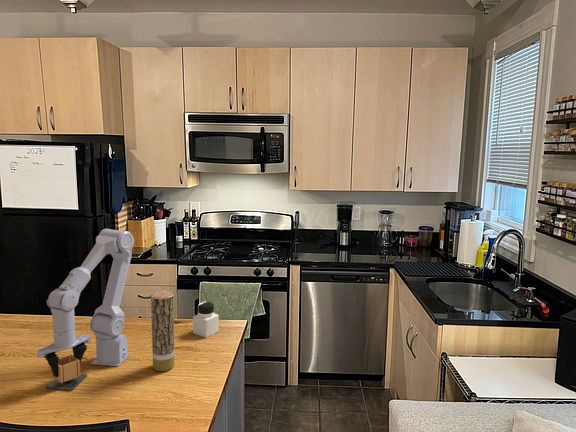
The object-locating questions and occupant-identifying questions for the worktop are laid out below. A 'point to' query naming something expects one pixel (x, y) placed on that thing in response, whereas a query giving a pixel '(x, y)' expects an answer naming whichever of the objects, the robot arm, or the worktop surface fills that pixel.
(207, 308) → the medicine bottle
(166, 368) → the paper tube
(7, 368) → the worktop surface
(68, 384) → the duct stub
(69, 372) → the brown hollow box
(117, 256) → the robot arm
